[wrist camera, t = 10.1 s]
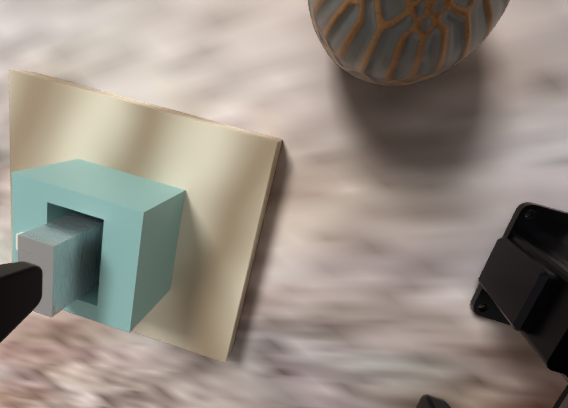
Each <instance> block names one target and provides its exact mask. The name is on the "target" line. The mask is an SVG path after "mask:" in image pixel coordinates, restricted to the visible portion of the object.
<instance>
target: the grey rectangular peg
mask: <svg viewBox="0 0 568 408" xmlns="http://www.w3.org/2000/svg"><path fill="white" fill-rule="evenodd" d="M103 226H104V220H103V219H100V218H97V217H94V216H91V215H87V214H84V213H81V212H78V211H77V212H74V213H72V214H69V215H67V216H64V217H62V218H59V219H57V220H54V221H51V222H49V223H46V224H44V225H41V226H39V227H36V228H34V229H31V230H29V231H26V232H24V233H21V234H19V235H18V262H21V261H25V262H29V263H32V264H35V265H38V266H39V267H41V269H42V271H43V287H42V298H41V301H40V303H39V304H38V306H37V307H36V308H35V309H34V310H33V311H35V312H37V313H40V314H43V315H46V316H49V317H53V316H54V315H56V314H57V313H58V312H60V311H61V310H63V309H64V308H65V307H67V306H68V305H70V304H71V303H72V302H74V301H75V300H76V299H78V298H79V297H81V296H82V295H83V294H85V293H86V292H88V291H89V290H90V289H92V288H93V287H94V286H96V285H97V284H99V277H100V264H101V251H102V239H103Z"/></svg>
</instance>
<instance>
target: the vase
mask: <svg viewBox="0 0 568 408" xmlns="http://www.w3.org/2000/svg"><path fill="white" fill-rule="evenodd" d="M509 1H510V0H308V5H309V11H310V16H311V20H312V23H313V26H314V29H315V32H316V34H317V36H318V38H319V40H320V42H321V44H322V46H323V47H324V49H325V50H326V52H327V53H328V55H329V56H330V57H331V58H332V59H333V60H334V62H335V63H336V64H337V65H339V66H340V67H341V68H342V69H343V70H345V71H346V72H347V73H349V74H351V75H352V76H354V77H356V78H358V79H360V80H363V81H366V82H369V83H372V84H377V85H384V86H401V85H408V84H414V83H418V82H422V81H425V80H428V79H430V78H433V77H435V76H437V75H439V74H441V73H443V72H445V71H447V70H449V69H450V68H452V67H454V66H455V65H457V64H458V63H459V62H461V61H462V60H463V59H465V58H466V57H467V56H468V55H469V54H470V53H472V52H473V51H474V50H475V49H476V48H477V47H478V46H479V45H480V44H481V43H482V42H483V41H484V39H485V38H486V37H487V36H488V35H489V33H490V32H491V31H492V29H493V28H494V27H495V25H496V24H497V22H498V21H499V19H500V17H501V16H502V14H503V13H504V11H505V9H506V7H507V5H508V3H509Z"/></svg>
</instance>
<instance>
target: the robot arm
mask: <svg viewBox="0 0 568 408" xmlns="http://www.w3.org/2000/svg"><path fill="white" fill-rule="evenodd" d="M530 209H532V214H531V215H530V216H528V217H525V213H526V211H528V210H530ZM479 282H480V284H479V286H478V288H477V290H476V292H475V294H474V296H473V298H472V300H471V304H470V305H471V308H472V309H473V311H474V312H475V313H476V314H477V315H479V316H482V317H485V318H489V319H492V320H495V321H499V322H502V323H505V324H508V325H512V327H513V328H514V329H515V330H517V331H520V332H521V334H522V335H523V336H524V338H525V339H526V340H527V342H528V343H529V344H530V345H531V347H532V348H533V349H534V351H535V352H536V353H537V355H538V356H539V357H540V358H541V360H542V361H543V362H544V364H545V365H546V366H547V368H549V369H550V370H552V371H555V372H559V373H560V374H561V375H562V376H563V377H564V379H565V380H566V381H567V382H568V212H564V211H560V210H557V209H553V208H549V207H546V206H542V205H538V204H535V203H530V202H526V203H522V204H521V205H519V206H518V208H517V209H516V211H515V213H514V215H513V217H512V219H511V221H510V223H509V225H508V227H507V229H506V231H505V233H504V235H503V237H502V238H500V239H498V240H497V242H496V244H495V246H494V248H493V250H492V252H491V255H490V257H489V259H488V261H487V263H486V265H485V267H484V269H483V271H482V273H481V275H480V277H479ZM42 287H43V271H42V269H41V267H39V266H38V265H35V264H32V263H29V262H25V261H21V262H14V263H8V264H2V265H0V343H1V342H2V341H3V340H4V339H5V338H6V337H7V336H8V335H9V334H10V333H11V332H12V331H13V330H14V329H15V328H16V327H17V326H18V325H19V324H20V323H21V322H22V321H23V320H24V319H25V318H26V317H27V316H28V315H29V314H30V313H31V312H32V311H33V310H34V309H35V308H36V307H37V306H38V304H39V303H40V301H41V298H42ZM480 304H485V306H484V307H482V308H478V306H479V305H480ZM416 408H451V407H450V406H449V405H448V404H447V403H446V402H445V401H444V400H442V399H440V398H437V397H434V396H431V395H427V394H426V395H423V396H422V397H421V399H420V401H419V403H418V405H417V407H416ZM553 408H568V385H567V387H566V388H565V390H564V391H563V393H562V394H561V396H560V397H559V399H558V400H557V402H556V404H555V405H554V407H553Z"/></svg>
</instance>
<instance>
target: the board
mask: <svg viewBox="0 0 568 408" xmlns="http://www.w3.org/2000/svg"><path fill="white" fill-rule="evenodd" d="M9 119H10V180H11V241H12V263H13V240H12V175H11V172H15V171H20V170H25V169H30V168H35V167H40V166H45V165H50V164H55V163H60V162H65V161H69V160H74V159H81V160H85V161H88V162H92V163H95V164H98V165H102V166H105V167H109V168H112V169H115V170H119V171H122V172H126V173H129V174H132V175H136V176H139V177H143V178H146V179H149V180H153V181H156V182H160V183H163V184H166V185H170V186H173V187H177V188H180V189H183V190H186V191H185V197H184V204H183V210H182V216H181V223H180V229H179V236H178V242H177V248H176V255H175V261H174V268H173V274H172V280H171V287H170V291H169V292H168V293H167V294H166V295H165V296H164V297H163V298H162V299H161V300H160V301H159V302H158V303H157V304H156V305H155V306H154V308H153V309H152V310H151V311H150V312H149V313H148V314H147V315H146V316H145V317H144V318H143V319H142V320H141V321H140V322H139V323H138V324H137V325H136V326H135V328H134V329H133V330H132V331H133V332H136V333H139V334H142V335H145V336H148V337H151V338H153V339H156V340H159V341H162V342H165V343H168V344H171V345H174V346H177V347H180V348H183V349H186V350H189V351H192V352H195V353H197V354H200V355H203V356H206V357H209V358H212V359H215V360H218V361H221V362H224V363H226V361H227V358H228V356H229V354H230V352H231V350H232V348H233V344H234V340H235V336H236V332H237V328H238V324H239V319H240V315H241V311H242V307H243V303H244V299H245V294H246V290H247V286H248V282H249V278H250V274H251V269H252V265H253V261H254V257H255V253H256V249H257V244H258V240H259V236H260V232H261V228H262V224H263V219H264V215H265V211H266V207H267V203H268V199H269V194H270V190H271V186H272V182H273V178H274V174H275V169H276V165H277V161H278V157H279V153H280V149H281V144H282V140H281V139H278V138H274V137H270V136H267V135H263V134H259V133H256V132H252V131H248V130H244V129H241V128H237V127H233V126H230V125H226V124H222V123H219V122H215V121H211V120H208V119H204V118H200V117H197V116H193V115H189V114H185V113H182V112H178V111H174V110H171V109H167V108H163V107H160V106H156V105H152V104H149V103H145V102H141V101H138V100H134V99H130V98H127V97H123V96H119V95H115V94H112V93H108V92H104V91H101V90H97V89H93V88H90V87H86V86H82V85H79V84H75V83H71V82H68V81H64V80H60V79H57V78H53V77H49V76H45V75H42V74H38V73H34V72H27V71H17V70H9Z"/></svg>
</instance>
